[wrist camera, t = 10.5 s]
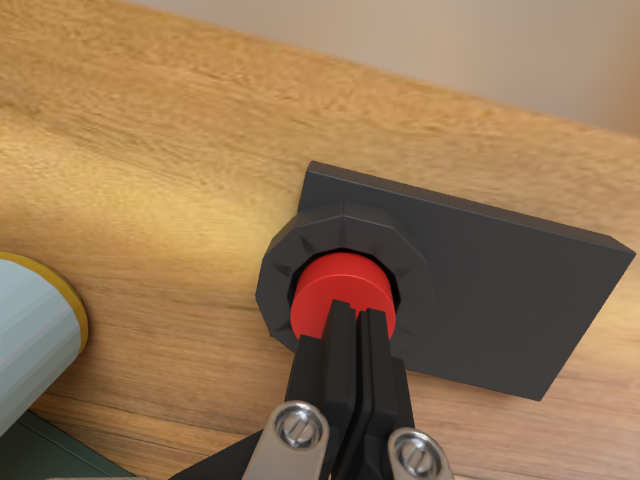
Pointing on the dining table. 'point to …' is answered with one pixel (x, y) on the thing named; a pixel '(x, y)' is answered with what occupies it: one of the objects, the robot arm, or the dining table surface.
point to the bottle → (35, 332)
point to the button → (339, 291)
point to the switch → (451, 277)
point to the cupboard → (49, 454)
